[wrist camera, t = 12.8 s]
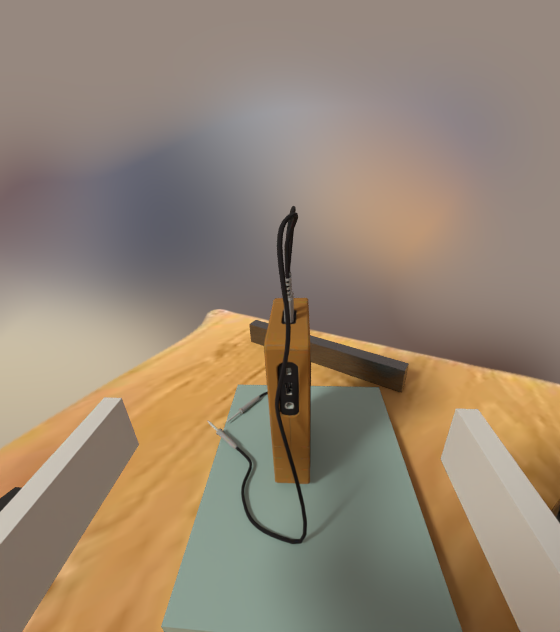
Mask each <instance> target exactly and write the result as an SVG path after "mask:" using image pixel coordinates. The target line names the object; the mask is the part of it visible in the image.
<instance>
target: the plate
mask: <svg viewBox="0 0 560 632" xmlns="http://www.w3.org/2000/svg"><path fill="white" fill-rule="evenodd" d="M265 392H268V390H267V385H238V387H237V390H236V393H235V396H234V399H233V402H232V405H231V409H230V412H229V415H228V418H227V420H229V419H230V418H231V417H232V416H234V415H235V414H236V413H238V412H239V409H240V408H242V407H243V406H244V405H246V404H247V403H248V402H250V401H251V400H252V399H254V398H255V397H257V396H259V395H261V394H262V393H265ZM226 422H227V421H226ZM223 432H224V433H225V434H226V435H228V436H229V437H230V438H231V439H232V440H233V441H234V442H235V443H236V444H237V446H238V447H239V448H240V449H241V450H242V451H243V452H244V453H245V454H246V455H247V456H248V457H249V458H250V459H251V462H252V469H251V472H250V474H249V477H248V479H247V481H246V484H245V488H244V496H245V501H246V505H247V508H248V511H249V513H250V515H251V517H252V518H253V519H254V521H255V522H257V523H258V524H259V525H260V526H262V527H263V528H265V529H267V530H269V531H271V532H273V533H275V534H278V535H281V536H284V537H287V538H290V539H300V538H301V536H302V534H303V518H302V511H301V505H300V501H299V496H298V492H297V488H296V484H295V483H277V482H275V474H274V463H273V451H272V439H271V427H270V415H269V403H268V394H266V395H264V396H262V397H261V398H260V399H259V400H258V401H257V402H256V403H255V404H253V405H252V406H251V407H249V408H248V409H247V410H246V411H244V412H243V414H241V413H239V414H238V415H237V416H236V417H234V418H233V419H232V420H230V421H229V422H227V423H226V424H225V427H224V431H223ZM248 469H249V462H248V461H247V459H246V458H245V457H244V456H243V455H242V454H241V453H240V452H239V451H237V450H236V449H234V448H232V447H231V446H230V445H229V444H228V443H227V442H226V441H225V440H224V439H222V438H221V440H220V443H219V446H218V450H217V453H216V456H215V459H214V462H213V465H212V468H211V472H210V475H209V478H208V481H207V484H206V487H205V490H204V494H203V497H202V500H201V503H200V506H199V509H198V512H197V516H196V519H195V522H194V525H193V528H192V531H191V535H190V538H189V541H188V544H187V547H186V550H185V553H184V557H183V560H182V563H181V566H180V569H179V572H178V575H177V579H176V582H175V585H174V588H173V591H172V594H171V597H170V601H169V604H168V607H167V610H166V613H165V616H164V620H163V623H162V626H161V627H162V629H163V631H164V632H462V629H461V626H460V623H459V620H458V617H457V614H456V611H455V608H454V605H453V602H452V599H451V597H450V594H449V591H448V588H447V585H446V582H445V579H444V576H443V573H442V570H441V567H440V564H439V562H438V559H437V556H436V553H435V550H434V547H433V544H432V541H431V538H430V535H429V532H428V529H427V526H426V524H425V521H424V518H423V515H422V512H421V509H420V506H419V503H418V500H417V497H416V494H415V491H414V489H413V486H412V483H411V480H410V477H409V474H408V471H407V468H406V465H405V462H404V459H403V456H402V454H401V451H400V448H399V445H398V442H397V439H396V436H395V433H394V430H393V427H392V424H391V421H390V418H389V416H388V413H387V410H386V407H385V404H384V401H383V398H382V395H381V392H380V389H379V387H338V386H311V450H310V483H309V484H300V487H301V491H302V496H303V500H304V505H305V511H306V518H307V535H306V537H305V538H304V540H303V542H302V543H301V544H290V543H287V542H284V541H281V540H278V539H275V538H273V537H270V536H269V535H267V534H265V533H263V532H261V531H260V530H258V529H257V528H256V527H255V526H254V525H253V524H252V523H251V522H250V521H249V519H248V517H247V515H246V513H245V510H244V506H243V502H242V497H241V487H242V483H243V480H244V478H245V476H246V473H247V471H248Z"/></svg>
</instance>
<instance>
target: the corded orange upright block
mask: <svg viewBox="0 0 560 632" xmlns="http://www.w3.org/2000/svg"><path fill="white" fill-rule="evenodd" d="M297 219H298V215H297V213H295V206H293V207H292V208H291V211H290V214H289V215H288V216H287V217H286V218H285V219H284V220H283V221H282V223H281V225H280V227H279V231H278V237H277V255H278V267H279V274H280V282H281V289H282V295H283V298H278V299H277V298H276V299H274V301H273V306H272V311H271V315H270V320H269V324H268V329H267V333H266V337H265V343H264V354H265V366H266V378H267V390H268V392H265V393H262V394H261V395H259V396H257V397H255V398H254V399H252V400H251V401H250V402H248V403H247V404H246V405H244V406H243V407H242V408H240V409H239V412H238V413H236V414H235V415H234V416H232V417H231V418H230V419H229V420H227V422H229V421H230V420H232V419H233V418H234V417H236V416H237V415H238V414H239V413H241V414H243V412H244V411H246V410H247V409H248V408H249V407H251V406H252V405H253V404H255V403H256V402H257V401H258V400H259V399H260V398H261V397H262V396H264V395H266V394H268V403H269V415H270V427H271V439H272V451H273V463H274V474H275V482H277V483H295V484H296V488H297V492H298V496H299V501H300V505H301V511H302V518H303V534H302V536H301V538H300V539H290V538H287V537H284V536H281V535H278V534H275V533H273V532H271V531H269V530H267V529H265V528H263V527H262V526H260V525H259V524H258V523H257V522H255V521H254V519H253V518H252V517H251V515H250V513H249V511H248V508H247V505H246V501H245V496H244V488H245V484H246V481H247V479H248V477H249V474H250V472H251V469H252V462H251V459H250V458H249V457H248V456H247V455H246V454H245V453H244V452H243V451H242V450H241V449H240V448H239V447H238V446H237V444H236V443H235V442H234V441H233V440H232V439H231V438H230V437H229V436H228V435H226V434H225V433H224V432H223V431H222V429H217V428H216V427H215V426H214V425H213V424H212V423H211V422H210V421H208V423H209V424H210V425H211V426H212V427H213V428H214V429H215V430H216V431H217V432H216V434H217V435H219V436H220V437H221V438H222V439H224V440H225V441H226V442H227V443H228V444H229V445H230V446H231V447H232V448H234V449H236V450H237V451H239V452H240V453H241V454H242V455H243V456H244V457H245V458H246V459H247V461H248V462H249V469H248V471H247V473H246V476H245V478H244V480H243V483H242V487H241V497H242V502H243V506H244V510H245V513H246V515H247V517H248V519H249V521H250V522H251V523H252V524H253V525H254V526H255V527H256V528H257V529H258V530H260V531H261V532H263V533H265V534H267V535H269V536H270V537H273V538H275V539H278V540H281V541H284V542H287V543H290V544H301V543H302V542H303V540H304V538H305V537H306V535H307V518H306V511H305V505H304V500H303V496H302V491H301V487H300V484H309V483H310V450H311V355H310V327H309V308H308V299H307V298H294V297H293V292H292V288H291V287H292V284H291V272H290V263H291V253H292V243H293V232H294V227H295V225H296V222H297ZM287 222H288V226H287V233H286V241H285V272H284V263H283V250H282V240H283V239H282V238H283V232H284V227H285V225H286V223H287ZM285 273H286V274H285ZM285 277H286V278H285ZM227 422H226V423H227Z"/></svg>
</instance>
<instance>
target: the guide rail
mask: <svg viewBox="0 0 560 632" xmlns="http://www.w3.org/2000/svg"><path fill="white" fill-rule="evenodd" d="M268 324H269V323H265V322H262V321H258V320H255V321H254V322H252V323H251V324H249V325H250V334H251V342H254V343H257V344H260V345H263V346H264V343H265V337H266V333H267V329H268ZM310 355H311V362H313V363H316V364H319V365H322V366H325V367H328V368H331V369H334V370H337V371H340V372H342V373H345V374H348V375H351V376H354V377H357V378H360V379H363V380H366V381H369V382H372V383H375V384H378V385H381V386H384V387H387V388H390V389H392V390H395V391H398V392H402V389H403V387H404V385H405V380H406V375H407V369H408V363H405V362H401V361H398V360H394V359H391V358H387V357H384V356H380V355H377V354H373V353H370V352H366V351H363V350H359V349H356V348H352V347H349V346H345V345H342V344H338V343H335V342H331V341H328V340H324V339H321V338H317V337H314V336H311V335H310Z"/></svg>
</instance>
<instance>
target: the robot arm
mask: <svg viewBox="0 0 560 632" xmlns="http://www.w3.org/2000/svg"><path fill="white" fill-rule="evenodd" d="M138 445H139V443H138V441H137V438H136V435H135V433H134V430H133V427H132V424H131V422H130V419H129V416H128V414H127V411H126V408H125V406H124V403H123V400H122V398H104V399H103V400H102V401H101V402H100V403H99V404H98V405H97V406H96V407H95V408H94V410H93V411H92V412H91V413H90V414H89V415H88V416H87V417H86V418H85V419H84V421H83V422H82V423H81V424H80V425H79V426H78V427H77V428H76V429H75V430H74V432H73V433H72V434H71V435H70V436H69V437H68V438H67V439H66V440H65V441H64V443H63V444H62V445H61V446H60V447H59V448H58V449H57V450H56V451H55V452H54V454H53V455H52V456H51V457H50V458H49V459H48V460H47V461H46V462H45V463H44V465H43V466H42V467H41V468H40V469H39V470H38V471H37V472H36V473H35V474H34V476H33V477H32V478H31V479H30V480H29V481H28V482H27V483H26V484H25V485H24V487H23V488H19V487H15V488H14V489H12V490H11V491H10V492H8V493H7V494H6V495H4V496H3V497H2V498H0V632H22V631H23V629H24V628H25V626H26V625H27V623H28V621H29V620H30V618H31V617H32V615H33V613H34V612H35V610H36V609H37V607H38V605H39V604H40V602H41V601H42V599H43V597H44V596H45V594H46V593H47V591H48V589H49V588H50V586H51V585H52V583H53V581H54V580H55V578H56V577H57V575H58V573H59V572H60V570H61V569H62V567H63V565H64V564H65V562H66V561H67V559H68V557H69V556H70V554H71V553H72V551H73V549H74V548H75V546H76V544H77V543H78V541H79V540H80V538H81V536H82V535H83V533H84V532H85V530H86V528H87V527H88V525H89V524H90V522H91V520H92V519H93V517H94V516H95V514H96V512H97V511H98V509H99V508H100V506H101V504H102V503H103V501H104V500H105V498H106V496H107V495H108V493H109V492H110V490H111V488H112V487H113V485H114V484H115V482H116V480H117V479H118V477H119V476H120V474H121V472H122V471H123V469H124V468H125V466H126V464H127V463H128V461H129V460H130V458H131V456H132V455H133V453H134V452H135V450H136V448H137V447H138ZM441 461H442V463H443V465H444V467H445V470H446V472H447V474H448V476H449V478H450V480H451V483H452V485H453V487H454V489H455V491H456V493H457V496H458V498H459V500H460V502H461V504H462V506H463V509H464V511H465V513H466V515H467V517H468V519H469V522H470V524H471V526H472V528H473V530H474V532H475V535H476V537H477V539H478V541H479V543H480V545H481V548H482V550H483V552H484V554H485V556H486V558H487V561H488V563H489V565H490V567H491V569H492V571H493V574H494V576H495V578H496V580H497V582H498V584H499V587H500V589H501V591H502V593H503V595H504V597H505V600H506V602H507V604H508V606H509V608H510V610H511V613H512V615H513V617H514V619H515V621H516V623H517V626H518V628H519V630H520V632H560V500H559V501H558V502H557V504H556V505H555V506H554V508H553V509H552V511H551V510H550V509H549V508H548V506H547V505H546V503H545V502H544V501H543V499H542V498H541V496H540V495H539V494H538V492H537V491H536V490H535V488H534V487H533V485H532V484H531V483H530V481H529V480H528V478H527V477H526V476H525V474H524V473H523V471H522V470H521V469H520V467H519V466H518V464H517V463H516V462H515V460H514V459H513V457H512V456H511V455H510V453H509V452H508V450H507V449H506V448H505V446H504V445H503V443H502V442H501V441H500V439H499V438H498V437H497V435H496V434H495V432H494V431H493V430H492V428H491V427H490V425H489V424H488V423H487V421H486V420H485V418H484V417H483V416H482V414H481V413H480V411H479V410H478V409H456V410H455V413H454V417H453V420H452V423H451V427H450V430H449V433H448V436H447V440H446V443H445V446H444V450H443V453H442V456H441Z"/></svg>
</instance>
